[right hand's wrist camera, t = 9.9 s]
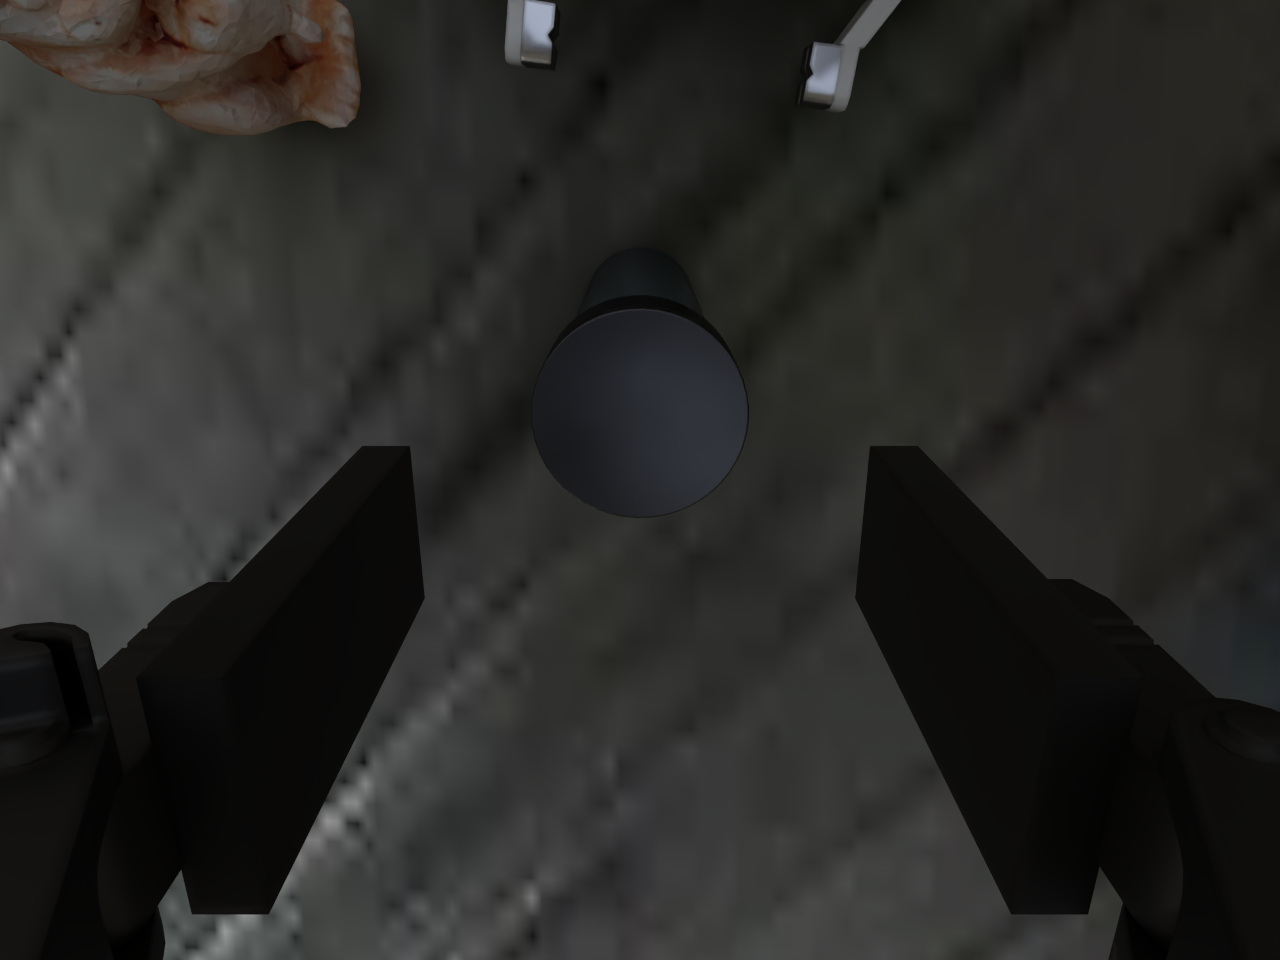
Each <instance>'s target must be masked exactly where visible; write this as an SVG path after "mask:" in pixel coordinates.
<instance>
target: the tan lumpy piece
mask: <svg viewBox="0 0 1280 960" xmlns="http://www.w3.org/2000/svg"><path fill="white" fill-rule="evenodd" d="M0 40H4V41H7V42H8V43H10V44H11V45H12V46H14V47H15V48H17V49H18V50H19V51H21V52H22V53H23V54H25V55H26V56H27V57H28V58H30V59H31V60H32V61H34V62H35V63H37V64H39V65H40V66H42V67H44V68H46V69H48V70H50V71H52V72H54V73H56V74H58V75H60V76H62V77H64V78H65V79H67V80H68V81H70V82H72V83H74V84H76V85H78V86H80V87H82V88H85V89H87V90H90V91H94V92H100V93H106V94H115V95H130V94H131V95H135V96H140V97H144V98H149V99H152V100H155V101H156V102H157V103H158V104H159V106H160V107H161V108H162V109H163V110H164V111H165V113H166V114H167V115H169V116H170V117H171V118H173V119H174V120H175V121H177V122H179V123H181V124H183V125H185V126H188V127H191V128H193V129H196V130H199V131H203V132H207V133H211V134H218V135H233V136H248V135H258V134H262V133H265V132H268V131H271V130H274V129H276V128H278V127H281V126H285V125H289V124H292V123H296V122H299V121H308V120H313V121H317V122H319V123H321V124H323V125H325V126H327V127H329V128H337V127H347V125H348V124H349V123H350V122H351V121H352V120H353V119H355V118H356V115H357V112H358V109H359V106H360V93H361V82H360V74H359V66H358V58H357V50H356V41H355V33H354V26H353V19H352V17H351V15H350V13H349V11H348V9H347V8H346V7H345V6H344V5H343V4H342V3H341V2H339V1H337V0H0Z"/></svg>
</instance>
